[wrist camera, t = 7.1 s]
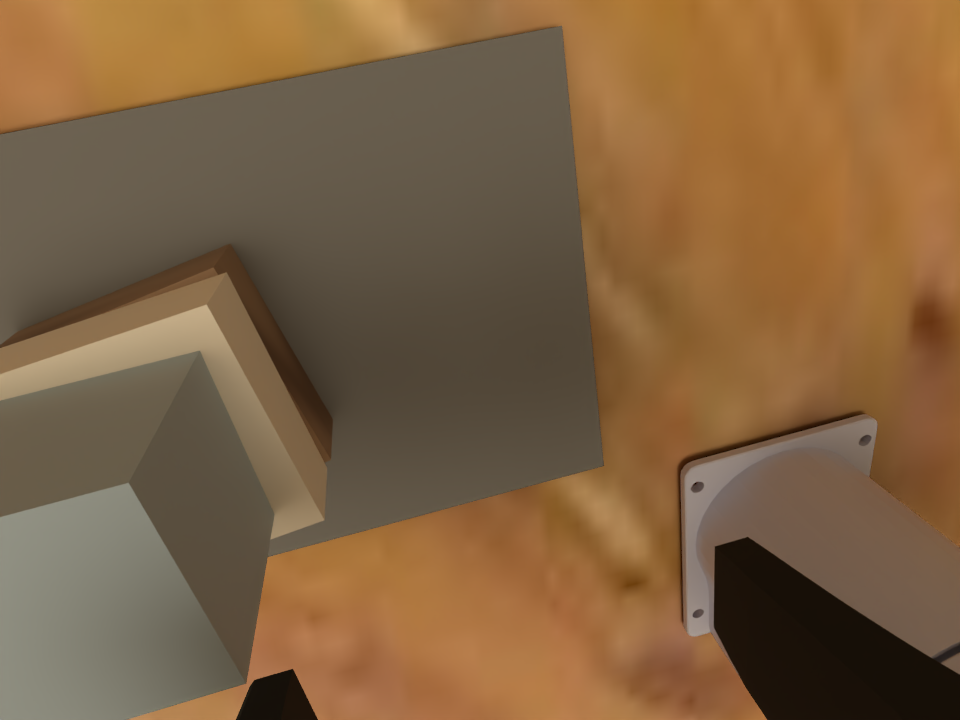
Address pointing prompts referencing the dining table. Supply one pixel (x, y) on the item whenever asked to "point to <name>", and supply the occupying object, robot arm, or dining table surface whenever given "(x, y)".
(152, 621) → the gray cube
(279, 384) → the cream slab
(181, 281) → the walnut slab
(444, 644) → the dining table surface
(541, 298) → the felt mat
